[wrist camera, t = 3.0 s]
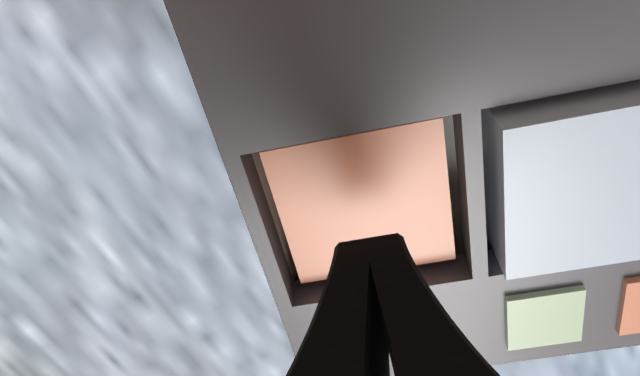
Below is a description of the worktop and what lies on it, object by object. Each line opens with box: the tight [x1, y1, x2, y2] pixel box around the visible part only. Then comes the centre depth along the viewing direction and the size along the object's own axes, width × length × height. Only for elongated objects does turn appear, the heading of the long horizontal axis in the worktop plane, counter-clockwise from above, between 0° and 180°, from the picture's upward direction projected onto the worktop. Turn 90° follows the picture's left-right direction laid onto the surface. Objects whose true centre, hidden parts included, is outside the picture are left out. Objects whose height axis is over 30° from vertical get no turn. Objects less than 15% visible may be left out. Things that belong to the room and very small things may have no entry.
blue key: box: [481, 79, 640, 280], centre depth 12 cm, size 4×4×2 cm
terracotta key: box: [259, 117, 456, 283], centre depth 14 cm, size 4×4×2 cm
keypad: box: [163, 0, 640, 376], centre depth 14 cm, size 16×12×5 cm
